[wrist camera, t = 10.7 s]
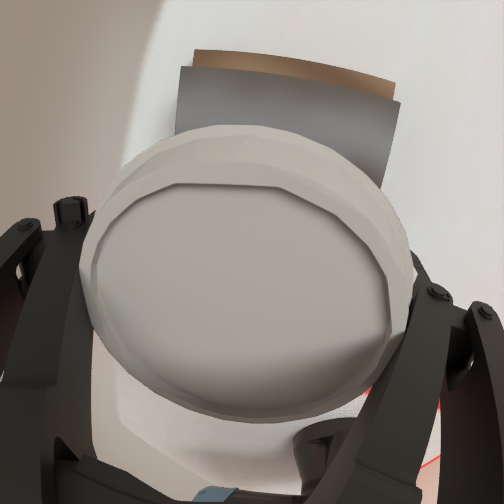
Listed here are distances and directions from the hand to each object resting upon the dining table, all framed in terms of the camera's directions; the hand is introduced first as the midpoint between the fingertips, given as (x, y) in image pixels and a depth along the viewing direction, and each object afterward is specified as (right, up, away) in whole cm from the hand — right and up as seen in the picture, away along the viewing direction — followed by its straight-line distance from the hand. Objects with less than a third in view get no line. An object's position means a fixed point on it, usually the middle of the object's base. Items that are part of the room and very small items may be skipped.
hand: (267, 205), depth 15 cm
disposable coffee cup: (0, +2, +3) cm, 3 cm away
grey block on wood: (+1, +4, +8) cm, 9 cm away
